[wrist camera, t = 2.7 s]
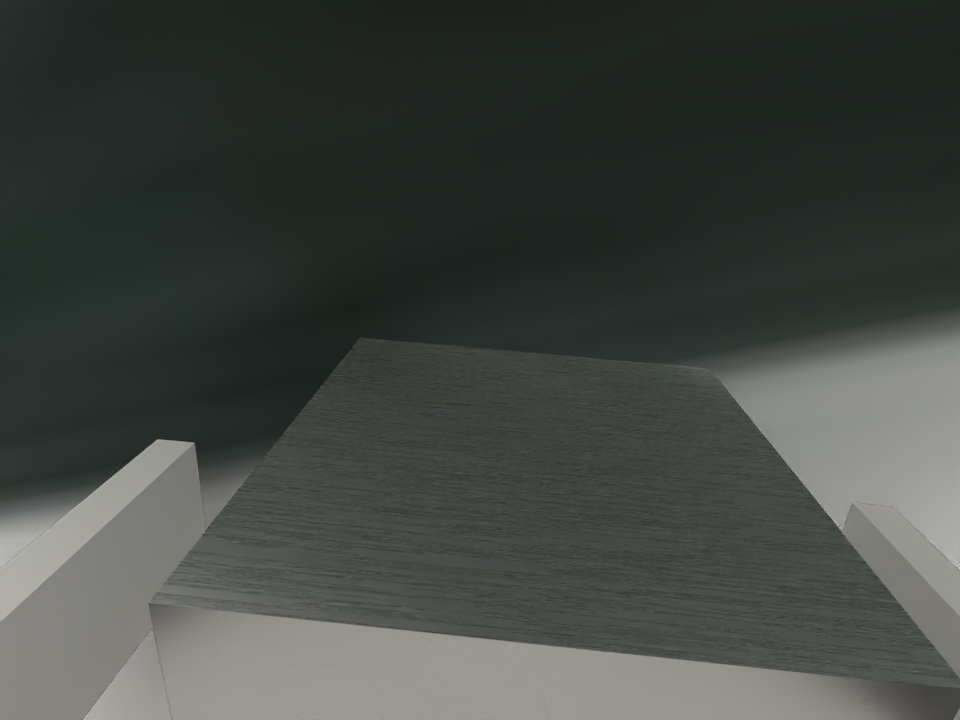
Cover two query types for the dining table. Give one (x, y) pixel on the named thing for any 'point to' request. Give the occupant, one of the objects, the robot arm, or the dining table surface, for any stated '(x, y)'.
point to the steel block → (532, 560)
